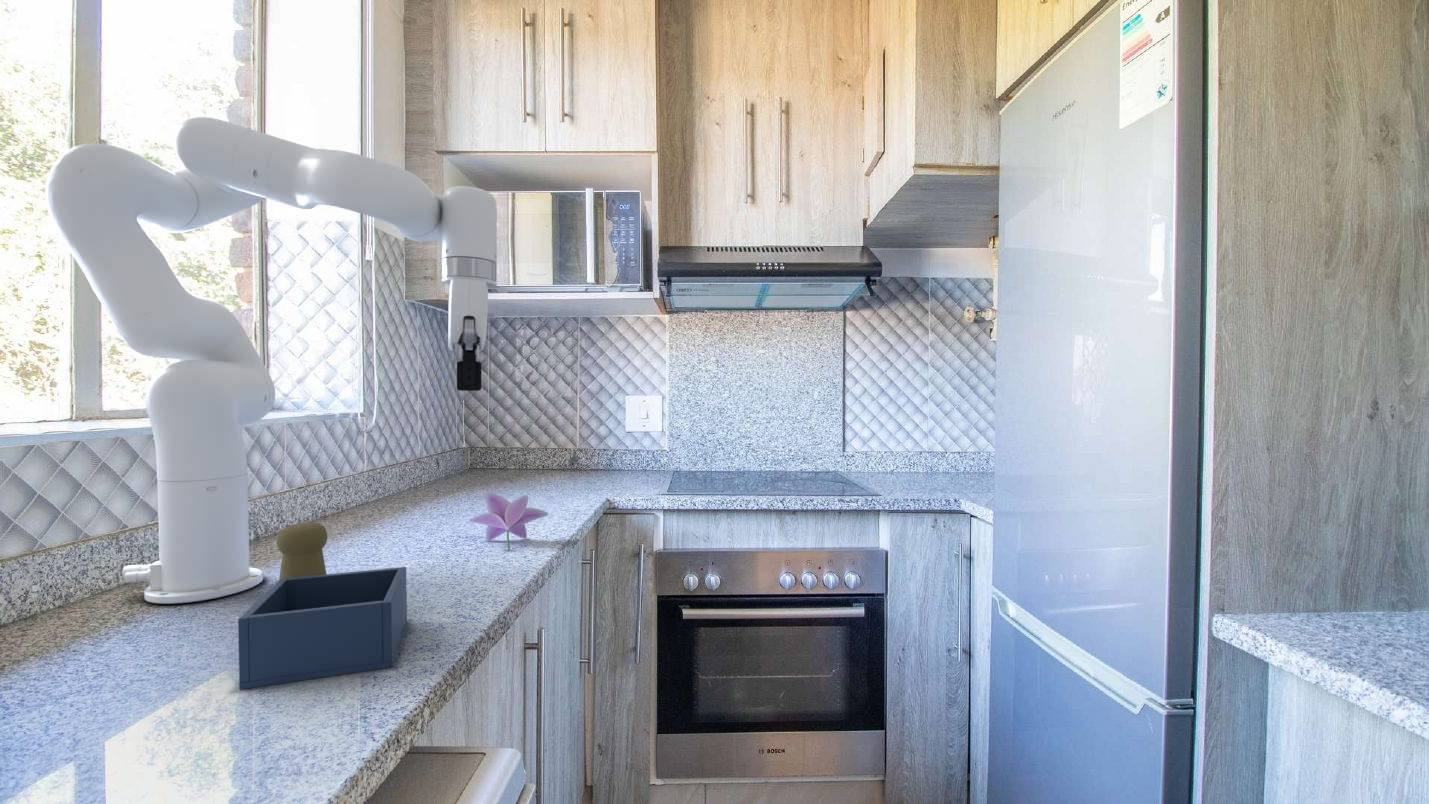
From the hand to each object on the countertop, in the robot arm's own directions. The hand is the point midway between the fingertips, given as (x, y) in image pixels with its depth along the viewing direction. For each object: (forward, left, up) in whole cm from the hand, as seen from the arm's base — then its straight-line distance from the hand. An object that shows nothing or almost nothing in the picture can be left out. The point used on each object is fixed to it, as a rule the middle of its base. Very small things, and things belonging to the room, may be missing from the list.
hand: (469, 390), depth 90 cm
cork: (-19, -10, -28) cm, 35 cm away
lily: (+6, +15, -28) cm, 32 cm away
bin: (-13, -24, -28) cm, 38 cm away
